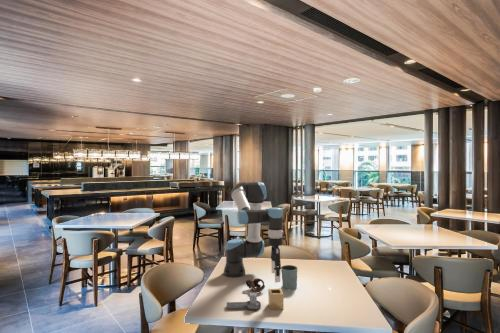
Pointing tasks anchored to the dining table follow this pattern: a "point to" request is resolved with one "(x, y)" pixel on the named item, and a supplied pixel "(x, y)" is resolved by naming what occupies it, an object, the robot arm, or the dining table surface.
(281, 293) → the hollow square tube
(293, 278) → the grey green cup
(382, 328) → the dining table surface
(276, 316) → the dining table surface
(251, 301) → the grey handled bowl
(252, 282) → the ring-shaped clay flask
